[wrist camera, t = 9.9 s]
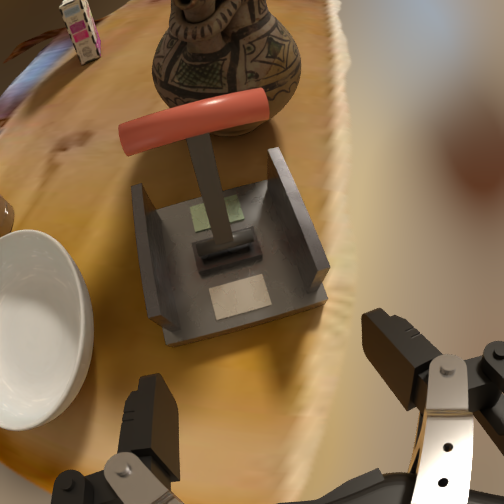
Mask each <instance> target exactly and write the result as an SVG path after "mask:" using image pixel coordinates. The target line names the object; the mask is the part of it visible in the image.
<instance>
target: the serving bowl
mask: <svg viewBox="0 0 504 504" xmlns="http://www.w3.org/2000/svg"><path fill="white" fill-rule="evenodd" d="M93 341H94V319H93V311H92V305H91V300H90V296H89V292H88V289H87V287H86V284H85V281H84V279H83V277H82V275H81V272H80V271H79V269H78V267H77V265H76V264H75V262H74V260H73V259H72V258H71V256H70V255H69V254H68V252H67V251H66V250H65V248H64V247H63V246H62V245H61V244H60V243H59V242H58V241H57V240H55V239H54V238H53V237H51V236H49V235H48V234H46V233H43V232H40V231H36V230H19V231H15V232H11V233H9V234H6V235H4V236H3V237H1V238H0V427H1V428H3V429H6V430H12V431H25V430H30V429H33V428H36V427H39V426H42V425H44V424H46V423H48V422H50V421H52V420H53V419H55V418H56V417H58V416H59V415H60V414H61V413H62V412H64V411H65V410H66V409H67V407H68V406H69V405H70V404H71V403H72V401H73V400H74V399H75V397H76V396H77V394H78V393H79V391H80V389H81V387H82V385H83V383H84V381H85V378H86V375H87V372H88V369H89V366H90V362H91V357H92V351H93Z"/></svg>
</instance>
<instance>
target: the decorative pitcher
mask: <svg viewBox="0 0 504 504" xmlns="http://www.w3.org/2000/svg"><path fill="white" fill-rule="evenodd" d="M300 74H301V57H300V53H299V50H298V47H297V45H296V43H295V41H294V39H293V37H292V36H291V34H290V33H289V32H288V30H287V29H286V28H285V27H284V26H283V25H282V24H281V23H280V22H279V21H278V20H277V19H276V18H275V17H274V16H273V15H272V14H271V13H270V12H269V11H268V7H267V4H266V0H171V14H170V19H169V28H168V29H167V31H166V32H165V34H164V35H163V37H162V39H161V40H160V42H159V44H158V47H157V49H156V52H155V56H154V59H153V65H152V76H153V81H154V84H155V87H156V90H157V92H158V93H159V95H160V97H161V98H162V99H163V101H164V102H165V103H166V104H167V105H168V106H169V108H173V107H177V106H180V105H184V104H188V103H191V102H195V101H199V100H203V99H208V98H212V97H216V96H221V95H225V94H230V93H235V92H240V91H245V90H250V89H255V88H263V90H264V91H265V94H266V96H267V100H268V104H269V112H270V115H269V119H271V118H272V117H273V116H275V115H276V114H277V113H278V112H279V111H281V110H282V108H283V107H284V106H285V105H286V104H287V103H288V102H289V100H290V99H291V98H292V96H293V94H294V92H295V90H296V88H297V86H298V83H299V79H300ZM269 119H268V120H269ZM266 121H267V120H263V121H258V122H253V123H249V124H244V125H240V126H235V127H231V128H226V129H222V130H218V131H214V132H210V133H211V134H213V135H217V136H238V135H242V134H245V133H248V132H250V131H252V130H254V129H255V128H257V127H258V126H259V125H260V124H262V123H264V122H266Z"/></svg>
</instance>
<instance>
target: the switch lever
mask: <svg viewBox="0 0 504 504" xmlns="http://www.w3.org/2000/svg"><path fill="white" fill-rule="evenodd" d="M269 115H270V112H269V104H268V100H267V96H266V94H265V91H264V90H263V88H255V89H250V90H245V91H240V92H235V93H230V94H225V95H221V96H216V97H212V98H208V99H203V100H199V101H195V102H191V103H188V104H184V105H180V106H177V107H173V108H169V109H166V110H163V111H159V112H156V113H153V114H149V115H146V116H143V117H140V118H137V119H134V120H131V121H128V122H125V123H122V124H120V125H119V128H118V129H119V137H120V141H121V145H122V148H123V150H124V152H125V154H126V155H127V156H131V155H134V154H137V153H140V152H143V151H147V150H150V149H153V148H156V147H159V146H163V145H166V144H170V143H173V142H176V141H180V140H184V139H186V140H187V144H188V148H189V151H190V155H191V159H192V163H193V166H194V170H195V174H196V177H197V181H198V185H199V188H200V192H201V195H202V199H203V202H204V206H205V210H206V213H207V217H208V220H209V224H210V227H211V230H212V234H213V237H214V239H211V240H207V241H203V242H200V243H196V249H197V253H198V256H199V257H200V256H204V255H208V254H211V253H215V252H218V251H222V250H226V249H229V248H233V247H237V246H240V245H244V244H248V243H251V242H254V238H253V234H252V231H251V229H247V230H243V231H240V232H236V233H232V230H231V226H230V222H229V217H228V213H227V209H226V205H225V200H224V196H223V192H222V187H221V183H220V179H219V174H218V170H217V166H216V161H215V157H214V153H213V148H212V144H211V139H210V135H209V133H210V132H214V131H218V130H222V129H226V128H231V127H235V126H240V125H244V124H249V123H253V122H258V121H263V120H268V119H269Z"/></svg>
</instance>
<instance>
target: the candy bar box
mask: <svg viewBox="0 0 504 504" xmlns="http://www.w3.org/2000/svg"><path fill="white" fill-rule="evenodd" d="M59 9H60V12H61V14H62V17H63V20H64V22H65V25H66V28H67V30H68V33H69V35H70V38H71V40H72V43H73V45H74V48H75V50H76V53H77V55H78V57H79V60H80V62H81V65H84V64H86V63H88V62H90V61H93V60H95V59H97V58H99V57H101V51H100V49H101V48H100V45H101V40H100V38H99V35H98V32H97V29H96V26H95V23H94V20H93V18H92V14H91V11H90V8H89V5H88V2H87V0H63V2H62V4H61V5H60V7H59Z"/></svg>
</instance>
